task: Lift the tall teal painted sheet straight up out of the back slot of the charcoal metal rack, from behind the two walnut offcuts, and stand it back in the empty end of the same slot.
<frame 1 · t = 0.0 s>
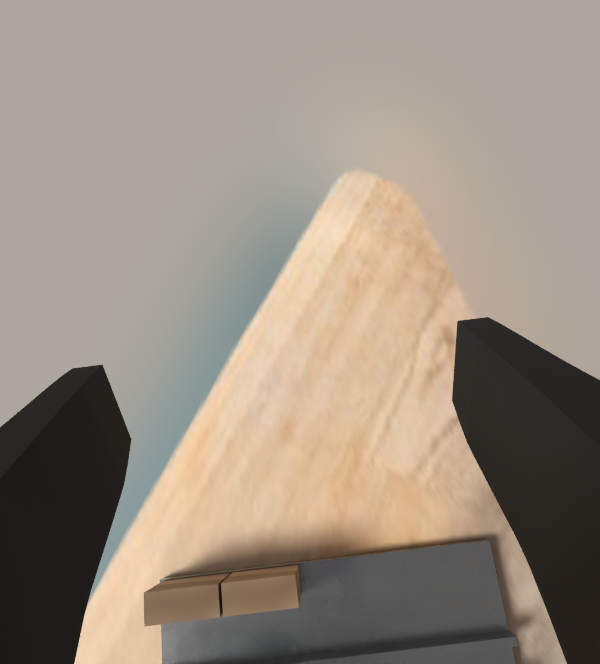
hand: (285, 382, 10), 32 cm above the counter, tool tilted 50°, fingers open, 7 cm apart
offcut b: (197, 591, 38), point 1 cm above the counter, touching rack
rack: (334, 640, 37), on the counter
offcut a: (266, 583, 38), point 1 cm above the counter, touching rack
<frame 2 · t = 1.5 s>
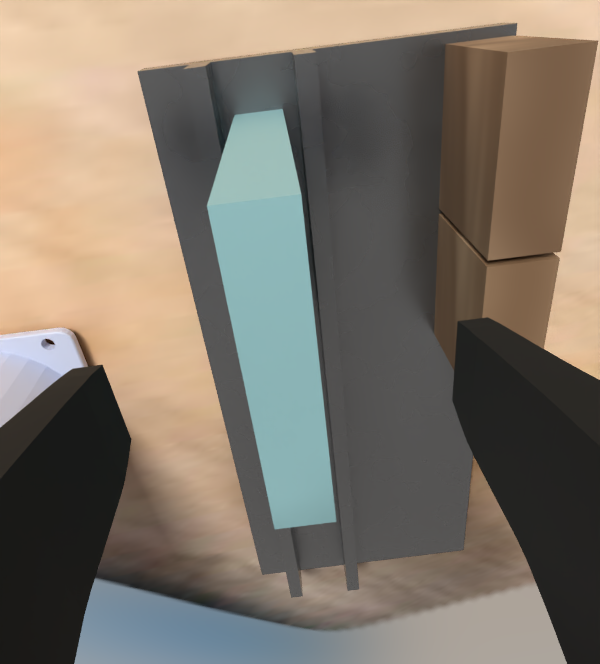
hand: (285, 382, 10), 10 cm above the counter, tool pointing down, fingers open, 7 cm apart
offcut b: (472, 128, 16), point 1 cm above the counter, touching rack
tall sheet: (275, 234, 18), point 1 cm above the counter, touching rack
rack: (347, 370, 22), on the counter
offcut a: (462, 274, 19), point 1 cm above the counter, touching rack
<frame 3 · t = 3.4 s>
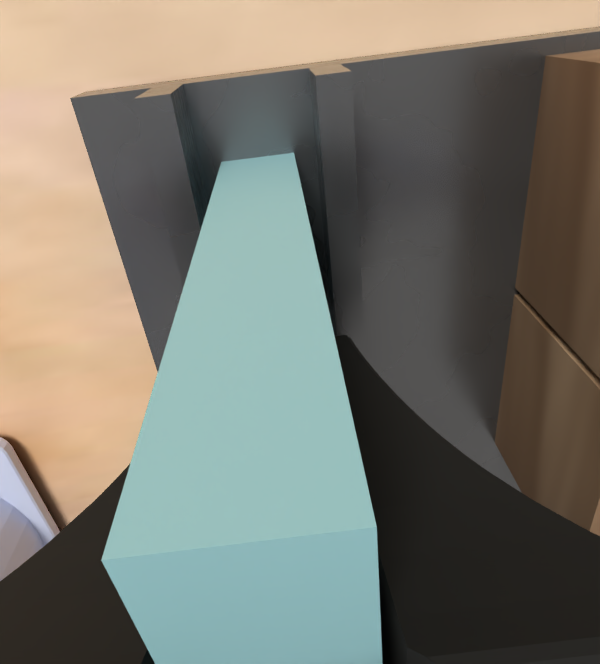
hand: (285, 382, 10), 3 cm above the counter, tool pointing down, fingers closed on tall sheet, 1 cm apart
offcut b: (574, 179, 11), point 1 cm above the counter, touching rack
tall sheet: (282, 323, 12), point 1 cm above the counter, touching gripper, rack
rack: (373, 477, 17), on the counter
offcut a: (540, 371, 14), point 1 cm above the counter, touching rack
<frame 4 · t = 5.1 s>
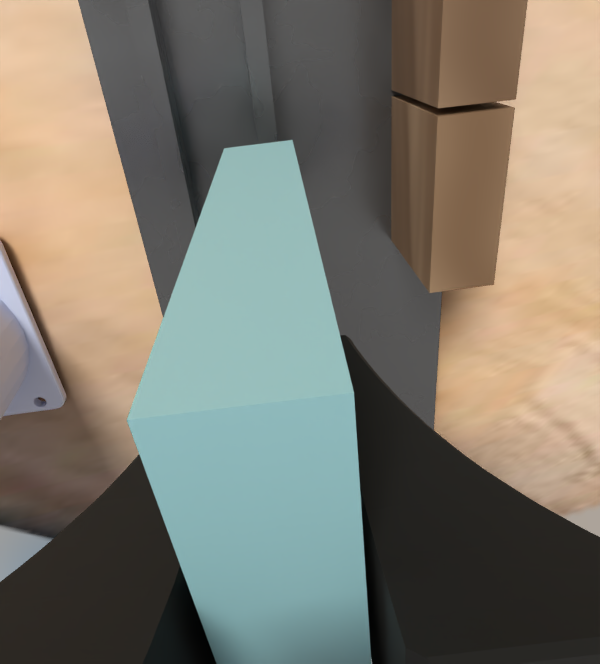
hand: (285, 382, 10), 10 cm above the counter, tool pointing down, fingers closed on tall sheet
tall sheet: (281, 305, 13), point 7 cm above the counter, touching gripper
rack: (301, 287, 21), on the counter
offcut a: (419, 170, 18), point 1 cm above the counter, touching rack
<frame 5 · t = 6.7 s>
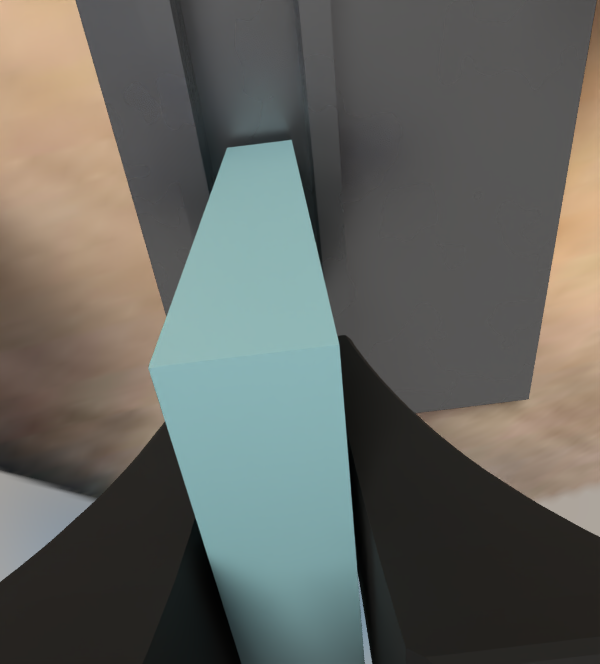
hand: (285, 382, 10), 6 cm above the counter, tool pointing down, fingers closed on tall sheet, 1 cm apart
tall sheet: (281, 297, 14), point 2 cm above the counter, touching gripper
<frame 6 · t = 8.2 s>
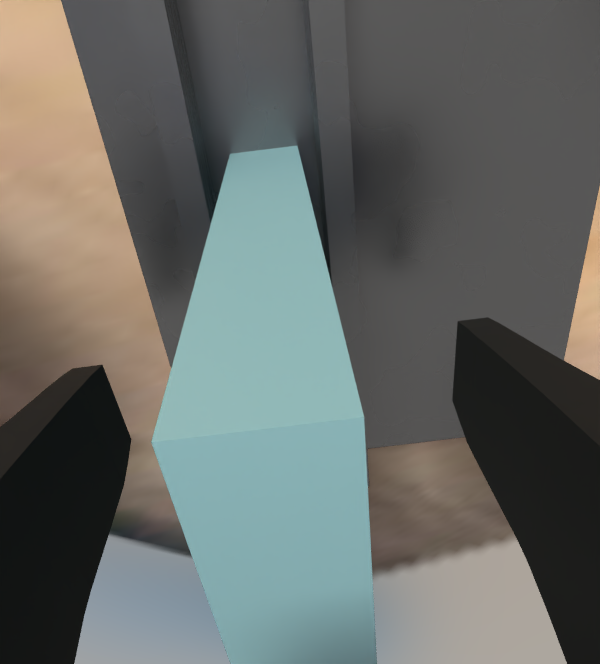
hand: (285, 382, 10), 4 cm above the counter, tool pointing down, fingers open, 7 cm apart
tall sheet: (285, 307, 13), point 1 cm above the counter, touching rack
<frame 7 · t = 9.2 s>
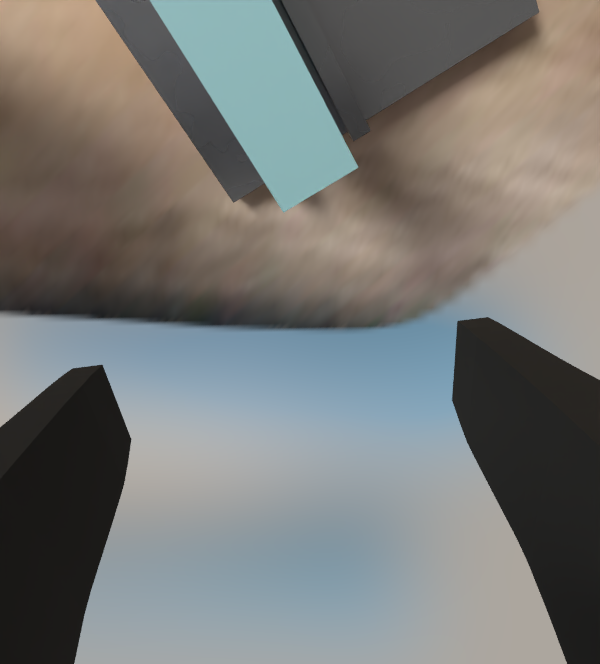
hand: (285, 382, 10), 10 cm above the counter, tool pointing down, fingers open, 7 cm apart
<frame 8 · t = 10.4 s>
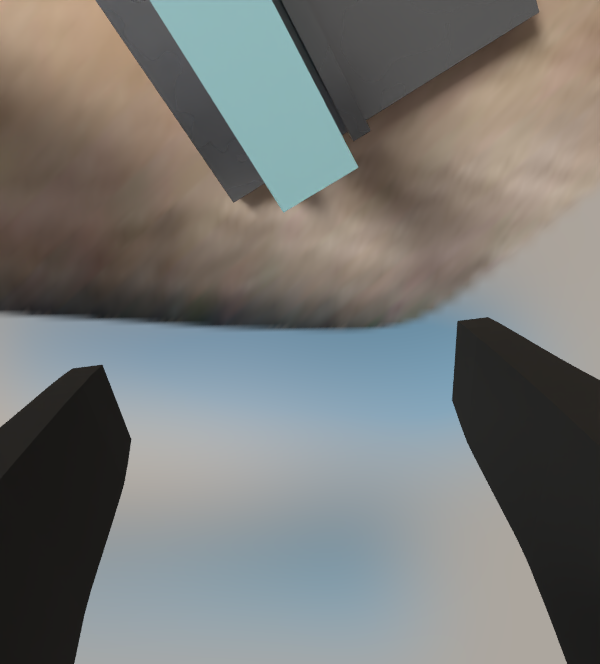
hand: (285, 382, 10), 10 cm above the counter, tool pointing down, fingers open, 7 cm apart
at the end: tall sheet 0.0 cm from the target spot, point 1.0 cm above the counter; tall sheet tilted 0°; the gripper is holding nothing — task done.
